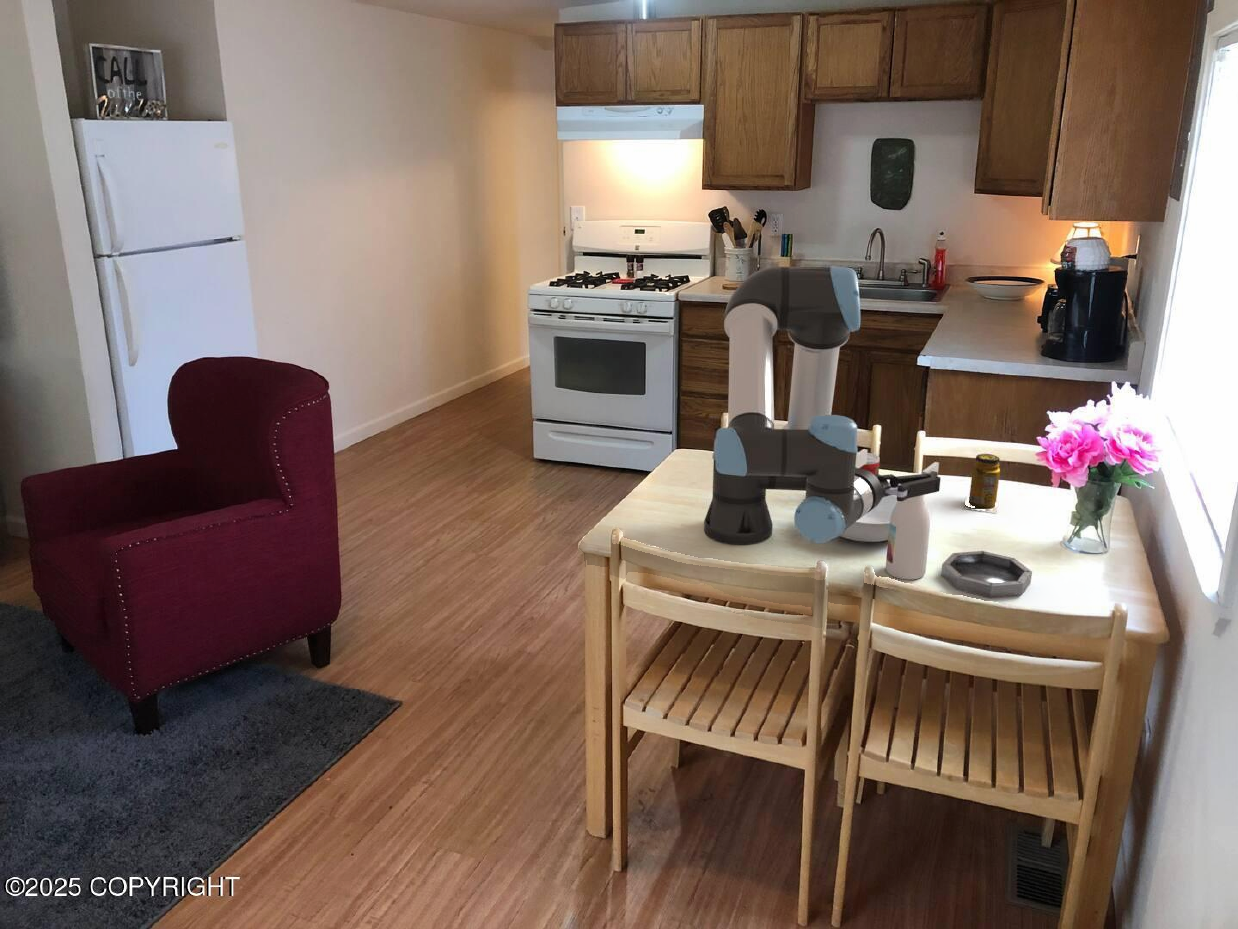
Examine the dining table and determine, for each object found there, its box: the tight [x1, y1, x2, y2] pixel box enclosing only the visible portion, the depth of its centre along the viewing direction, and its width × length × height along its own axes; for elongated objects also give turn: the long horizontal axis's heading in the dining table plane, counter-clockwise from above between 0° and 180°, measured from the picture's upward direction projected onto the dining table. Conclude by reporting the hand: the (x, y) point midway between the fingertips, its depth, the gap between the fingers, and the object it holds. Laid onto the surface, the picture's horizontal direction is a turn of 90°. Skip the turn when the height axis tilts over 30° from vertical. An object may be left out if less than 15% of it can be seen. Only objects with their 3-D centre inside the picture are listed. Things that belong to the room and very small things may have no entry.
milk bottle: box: [885, 495, 931, 581], centre depth 189 cm, size 8×8×20 cm
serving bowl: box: [839, 495, 898, 543], centre depth 210 cm, size 21×21×7 cm
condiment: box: [963, 453, 1001, 514], centre depth 225 cm, size 7×8×12 cm
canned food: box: [857, 451, 881, 475], centre depth 229 cm, size 8×8×11 cm
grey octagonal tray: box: [940, 550, 1033, 599], centre depth 189 cm, size 15×15×2 cm
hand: (900, 462), depth 178 cm, fingers open, 13 cm apart
